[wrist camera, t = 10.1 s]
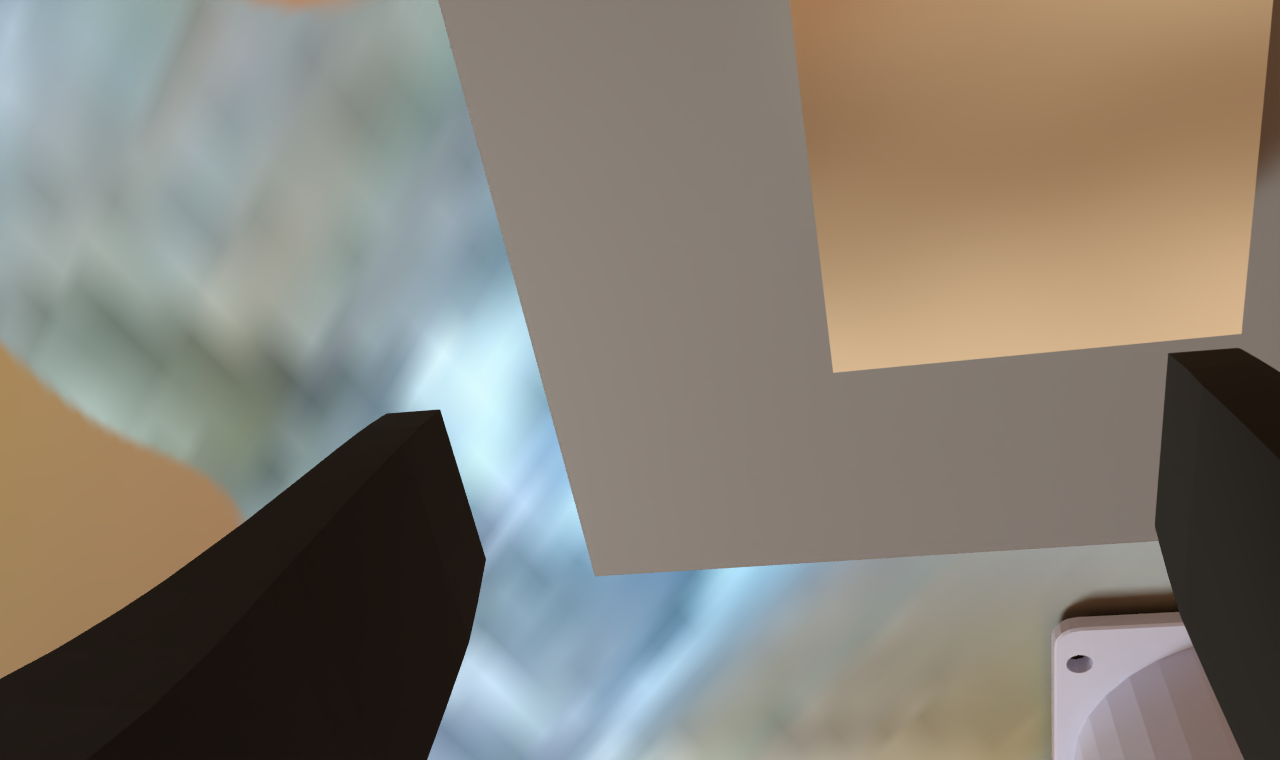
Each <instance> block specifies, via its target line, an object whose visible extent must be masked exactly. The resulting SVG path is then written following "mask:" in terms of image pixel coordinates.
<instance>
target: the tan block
mask: <svg viewBox="0 0 1280 760" xmlns="http://www.w3.org/2000/svg"><path fill="white" fill-rule="evenodd" d="M789 1H790V9H791V18H792V26H793V35H794V44H795V52H796V61H797V69H798V78H799V86H800V95H801V103H802V112H803V120H804V129H805V137H806V146H807V154H808V163H809V171H810V180H811V188H812V197H813V205H814V214H815V222H816V231H817V239H818V248H819V257H820V265H821V274H822V282H823V291H824V299H825V308H826V316H827V325H828V333H829V342H830V350H831V359H832V367H833V373H836V372H847V371H857V370H868V369H878V368H889V367H899V366H910V365H920V364H931V363H941V362H952V361H962V360H973V359H983V358H994V357H1004V356H1015V355H1025V354H1035V353H1046V352H1056V351H1067V350H1077V349H1088V348H1098V347H1109V346H1119V345H1130V344H1140V343H1151V342H1161V341H1172V340H1182V339H1193V338H1203V337H1214V336H1224V335H1235V334H1242V323H1243V313H1244V302H1245V292H1246V281H1247V271H1248V260H1249V250H1250V239H1251V229H1252V218H1253V208H1254V197H1255V187H1256V176H1257V166H1258V155H1259V145H1260V134H1261V124H1262V113H1263V103H1264V92H1265V82H1266V71H1267V61H1268V50H1269V40H1270V29H1271V19H1272V8H1273V0H789Z"/></svg>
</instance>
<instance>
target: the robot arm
mask: <svg viewBox="0 0 1280 760" xmlns="http://www.w3.org/2000/svg"><path fill="white" fill-rule="evenodd" d="M1155 529H1156V533H1157V537H1158V540H1159V544H1160V547H1161V551H1162V555H1163V558H1164V562H1165V566H1166V569H1167V573H1168V577H1169V580H1170V583H1171V586H1172V590H1173V593H1174V596H1175V600H1176V603H1177V606H1178V610H1179V612H1168V613H1148V614H1129V615H1109V616H1089V617H1075V618H1069V619H1066V620H1064V621H1062V622H1060V623H1059V624H1058V625H1057V626H1056V627H1055V628H1054V629H1053V632H1052V636H1051V640H1052V760H1280V372H1279V371H1277V370H1276V369H1274V368H1273V367H1271V366H1269V365H1268V364H1266V363H1265V362H1263V361H1261V360H1260V359H1258V358H1256V357H1255V356H1253V355H1251V354H1249V353H1248V352H1246V351H1244V350H1242V349H1240V348H1229V349H1216V350H1203V351H1190V352H1177V353H1168V361H1167V373H1166V386H1165V399H1164V412H1163V425H1162V437H1161V450H1160V463H1159V476H1158V489H1157V501H1156V514H1155ZM485 561H486V558H485V555H484V552H483V548H482V545H481V542H480V539H479V535H478V532H477V529H476V526H475V522H474V519H473V516H472V512H471V509H470V506H469V503H468V499H467V496H466V493H465V490H464V486H463V483H462V480H461V477H460V473H459V470H458V467H457V463H456V460H455V457H454V454H453V450H452V447H451V444H450V441H449V437H448V434H447V431H446V428H445V424H444V421H443V418H442V415H441V411H440V410H428V411H415V412H402V413H389V414H385V415H384V416H382V417H380V418H379V419H377V420H376V421H374V422H373V423H371V424H370V425H368V426H367V427H366V428H364V429H363V430H361V431H360V432H359V433H357V434H356V435H355V436H353V437H352V438H351V439H349V440H348V441H347V442H345V443H344V444H343V445H342V446H340V447H339V448H338V449H336V450H335V451H334V452H333V453H331V454H330V455H329V456H328V457H326V458H325V459H324V460H322V461H321V462H320V463H319V464H317V465H316V466H315V467H314V468H312V469H311V470H310V471H309V472H307V473H306V474H305V475H304V476H302V477H301V478H300V479H299V480H297V481H296V482H295V483H294V484H292V485H291V486H290V487H289V488H287V489H286V490H285V491H283V492H282V493H281V494H280V495H278V496H277V497H276V498H275V499H273V500H272V501H271V502H270V503H268V504H267V505H266V506H264V507H263V508H262V509H261V510H259V511H258V512H257V513H256V514H254V515H253V516H252V517H251V518H249V519H248V520H247V521H245V522H244V523H243V524H241V525H240V526H239V527H237V528H236V529H235V530H233V531H232V532H231V533H229V534H228V535H226V536H225V537H224V538H222V539H221V540H220V541H218V542H217V543H215V544H214V545H213V546H211V547H210V548H209V549H207V550H206V551H205V552H203V553H202V554H201V555H199V556H198V557H196V558H195V559H194V560H192V561H191V562H189V563H188V564H187V565H185V566H184V567H183V568H181V569H180V570H179V571H177V572H176V573H175V574H173V575H172V576H170V577H169V578H168V579H166V580H165V581H163V582H162V583H160V584H159V585H157V586H156V587H154V588H153V589H151V590H150V591H149V592H147V593H146V594H144V595H142V596H141V597H139V598H138V599H136V600H135V601H133V602H132V603H130V604H129V605H127V606H126V607H124V608H123V609H121V610H120V611H118V612H116V613H115V614H113V615H111V616H110V617H108V618H107V619H105V620H103V621H102V622H100V623H98V624H97V625H95V626H93V627H92V628H90V629H89V630H87V631H85V632H84V633H82V634H81V635H79V636H77V637H76V638H74V639H72V640H71V641H69V642H67V643H66V644H64V645H62V646H60V647H59V648H57V649H55V650H53V651H52V652H50V653H48V654H46V655H44V656H42V657H40V658H39V659H37V660H35V661H33V662H32V663H29V664H27V665H25V666H24V667H22V668H20V669H18V670H16V671H14V672H12V673H11V674H9V675H7V676H5V677H3V678H1V679H0V760H427V758H428V756H429V753H430V750H431V748H432V745H433V742H434V739H435V737H436V734H437V731H438V728H439V726H440V723H441V720H442V717H443V715H444V712H445V709H446V706H447V704H448V701H449V698H450V695H451V692H452V689H453V687H454V684H455V681H456V678H457V675H458V672H459V670H460V667H461V664H462V661H463V658H464V655H465V652H466V649H467V646H468V643H469V640H470V635H471V631H472V626H473V622H474V617H475V613H476V608H477V604H478V598H479V593H480V588H481V582H482V577H483V572H484V566H485ZM1077 655H1084V657H1083V658H1080V659H1070V658H1071V657H1073V656H1077Z"/></svg>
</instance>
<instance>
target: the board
mask: <svg viewBox="0 0 1280 760" xmlns="http://www.w3.org/2000/svg"><path fill="white" fill-rule="evenodd" d="M438 1H439V4H440V8H441V12H442V15H443V19H444V23H445V26H446V30H447V34H448V37H449V41H450V45H451V48H452V52H453V56H454V60H455V63H456V67H457V71H458V74H459V78H460V82H461V85H462V89H463V93H464V96H465V100H466V104H467V107H468V111H469V115H470V118H471V122H472V126H473V129H474V133H475V137H476V140H477V144H478V148H479V151H480V155H481V159H482V162H483V166H484V170H485V173H486V177H487V181H488V184H489V188H490V192H491V195H492V199H493V203H494V207H495V210H496V214H497V218H498V221H499V225H500V229H501V232H502V236H503V240H504V243H505V247H506V251H507V254H508V258H509V262H510V265H511V269H512V273H513V276H514V280H515V284H516V287H517V291H518V295H519V298H520V302H521V306H522V309H523V313H524V317H525V320H526V324H527V328H528V331H529V335H530V339H531V342H532V346H533V350H534V354H535V357H536V361H537V365H538V368H539V372H540V376H541V379H542V383H543V387H544V390H545V394H546V398H547V401H548V405H549V409H550V412H551V416H552V420H553V423H554V427H555V431H556V434H557V438H558V442H559V445H560V449H561V453H562V456H563V460H564V464H565V467H566V471H567V475H568V478H569V482H570V486H571V490H572V493H573V497H574V501H575V504H576V508H577V512H578V515H579V519H580V523H581V526H582V530H583V534H584V537H585V541H586V545H587V548H588V552H589V556H590V559H591V563H592V567H593V570H594V574H595V576H606V575H622V574H638V573H654V572H670V571H686V570H702V569H718V568H734V567H750V566H766V565H782V564H798V563H813V562H829V561H845V560H861V559H877V558H893V557H909V556H925V555H941V554H957V553H973V552H989V551H1005V550H1021V549H1036V548H1052V547H1068V546H1084V545H1100V544H1116V543H1132V542H1148V541H1159V540H1158V537H1157V533H1156V529H1155V514H1156V501H1157V489H1158V476H1159V463H1160V450H1161V437H1162V425H1163V412H1164V399H1165V386H1166V373H1167V361H1168V353H1177V352H1190V351H1203V350H1216V349H1229V348H1240V349H1242V350H1244V351H1246V352H1248V353H1249V354H1251V355H1253V356H1255V357H1256V358H1258V359H1260V360H1261V361H1263V362H1265V363H1266V364H1268V365H1269V366H1271V367H1273V368H1274V369H1276V370H1277V371H1279V372H1280V0H1273V8H1272V19H1271V29H1270V40H1269V50H1268V61H1267V71H1266V82H1265V92H1264V103H1263V113H1262V124H1261V134H1260V145H1259V155H1258V166H1257V176H1256V187H1255V197H1254V208H1253V218H1252V229H1251V239H1250V250H1249V260H1248V271H1247V281H1246V292H1245V302H1244V313H1243V323H1242V334H1235V335H1224V336H1214V337H1203V338H1193V339H1182V340H1172V341H1161V342H1151V343H1140V344H1130V345H1119V346H1109V347H1098V348H1088V349H1077V350H1067V351H1056V352H1046V353H1035V354H1025V355H1015V356H1004V357H994V358H983V359H973V360H962V361H952V362H941V363H931V364H920V365H910V366H899V367H889V368H878V369H868V370H857V371H847V372H836V373H833V367H832V359H831V350H830V342H829V333H828V325H827V316H826V308H825V299H824V291H823V282H822V274H821V265H820V257H819V248H818V239H817V231H816V222H815V214H814V205H813V197H812V188H811V180H810V171H809V163H808V154H807V146H806V137H805V129H804V120H803V112H802V103H801V95H800V86H799V78H798V69H797V61H796V52H795V44H794V35H793V26H792V18H791V9H790V1H789V0H438Z"/></svg>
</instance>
